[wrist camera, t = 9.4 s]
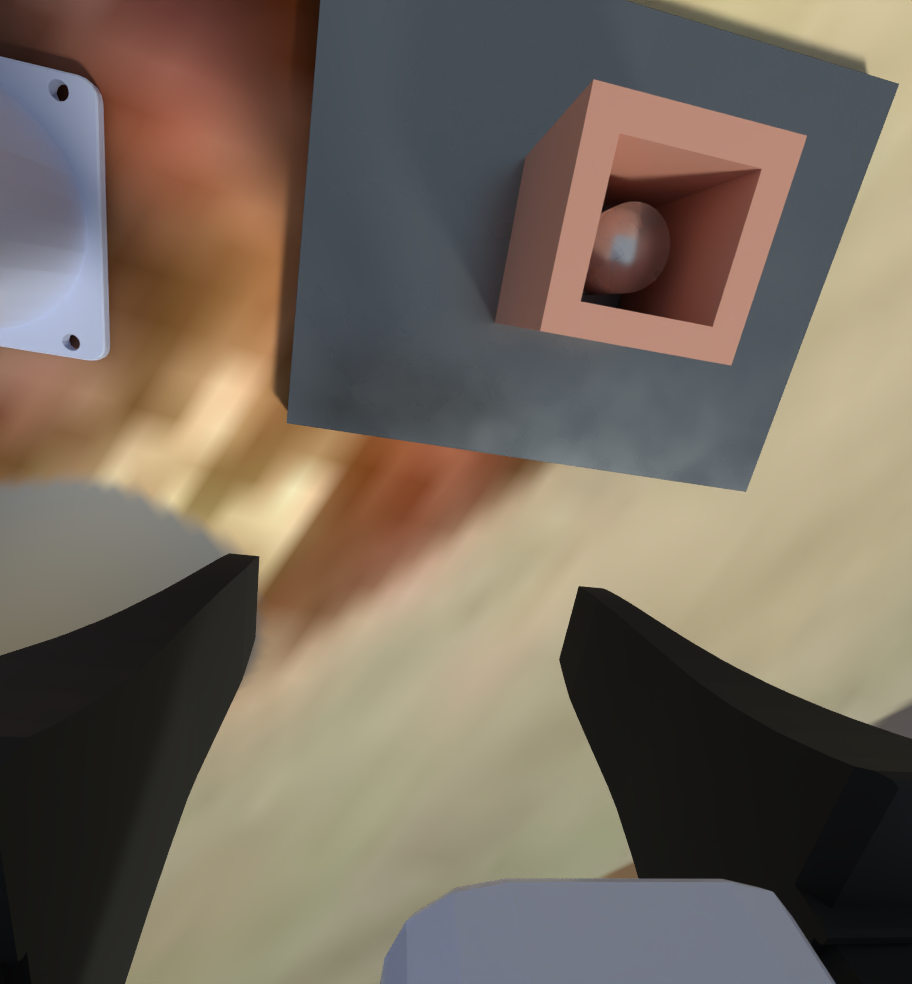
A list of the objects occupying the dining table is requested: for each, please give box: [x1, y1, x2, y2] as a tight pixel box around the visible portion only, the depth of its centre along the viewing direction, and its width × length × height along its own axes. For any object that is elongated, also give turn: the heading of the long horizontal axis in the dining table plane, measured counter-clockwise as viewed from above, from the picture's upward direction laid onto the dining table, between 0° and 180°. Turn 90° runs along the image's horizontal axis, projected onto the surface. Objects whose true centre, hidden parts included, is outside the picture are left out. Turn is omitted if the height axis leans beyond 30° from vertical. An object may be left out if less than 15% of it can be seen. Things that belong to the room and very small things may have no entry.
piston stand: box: [287, 0, 899, 492], centre depth 16 cm, size 18×14×5 cm
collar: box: [495, 79, 807, 365], centre depth 15 cm, size 5×5×6 cm
